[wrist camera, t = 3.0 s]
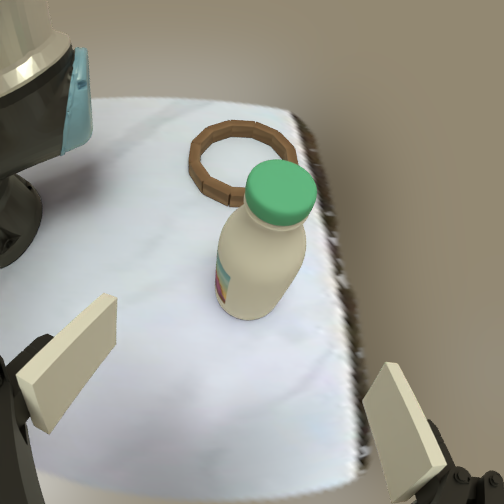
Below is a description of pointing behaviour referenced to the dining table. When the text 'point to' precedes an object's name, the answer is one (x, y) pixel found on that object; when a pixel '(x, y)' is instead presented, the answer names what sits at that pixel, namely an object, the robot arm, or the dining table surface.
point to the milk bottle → (264, 239)
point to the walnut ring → (225, 130)
